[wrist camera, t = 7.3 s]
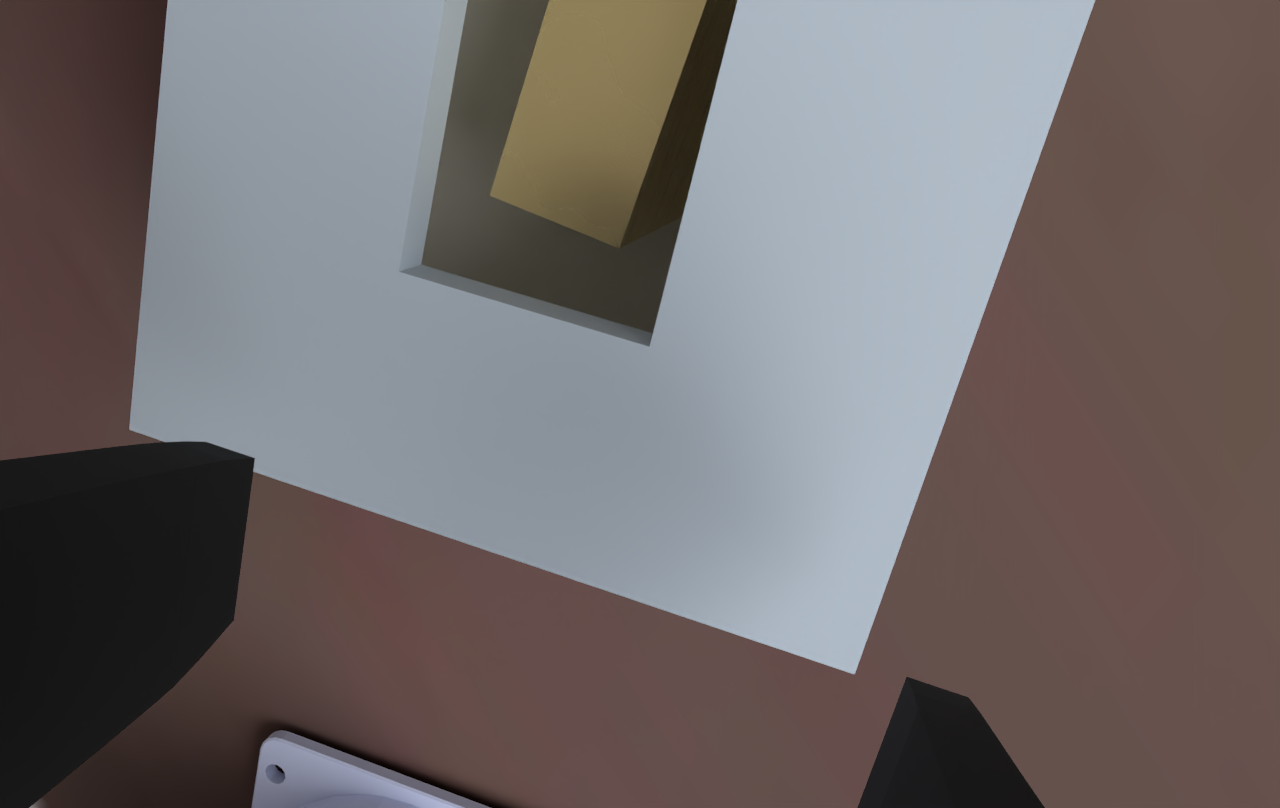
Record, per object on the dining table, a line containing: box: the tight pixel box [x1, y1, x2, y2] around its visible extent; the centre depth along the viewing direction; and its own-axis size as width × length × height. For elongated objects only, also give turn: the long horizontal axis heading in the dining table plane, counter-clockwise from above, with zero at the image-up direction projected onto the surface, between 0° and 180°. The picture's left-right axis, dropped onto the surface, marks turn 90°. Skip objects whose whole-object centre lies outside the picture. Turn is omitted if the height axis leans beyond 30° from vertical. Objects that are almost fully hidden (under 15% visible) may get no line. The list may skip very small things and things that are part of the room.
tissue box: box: [129, 0, 1095, 674], centre depth 16 cm, size 14×11×7 cm
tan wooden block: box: [490, 0, 737, 248], centre depth 16 cm, size 5×2×5 cm, turn 160°
